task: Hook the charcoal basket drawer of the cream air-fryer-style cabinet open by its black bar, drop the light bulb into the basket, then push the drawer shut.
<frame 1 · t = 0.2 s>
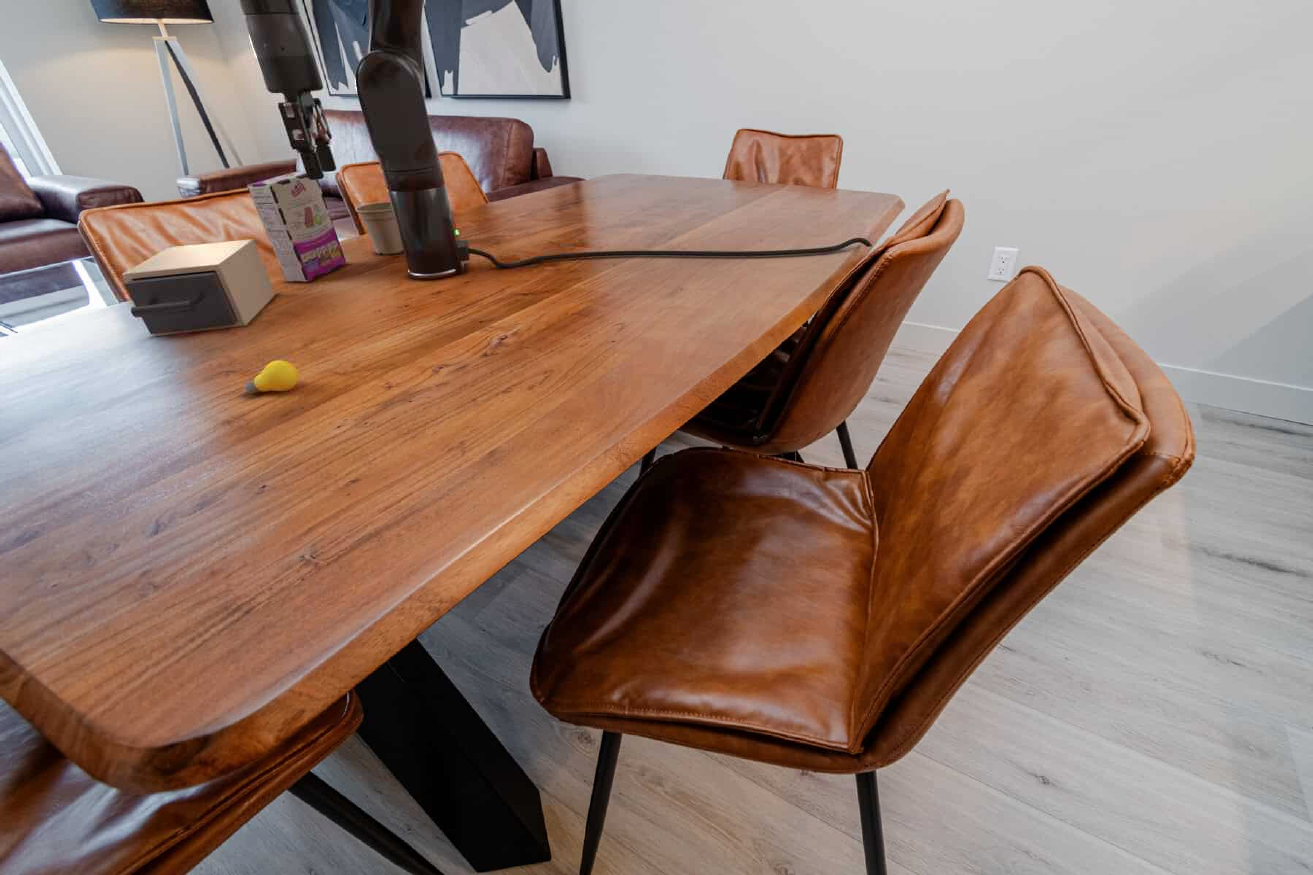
hand: (323, 175, 95), 17 cm above the table, tool pointing down, fingers open, 8 cm apart
cabinet: (219, 313, 93), on the table
candy bar box: (317, 274, 110), on the table
drawer: (193, 295, 87), point 5 cm above the table, slide at 0.5 cm
light bulb: (275, 391, 70), on the table
flower pot: (393, 251, 121), on the table
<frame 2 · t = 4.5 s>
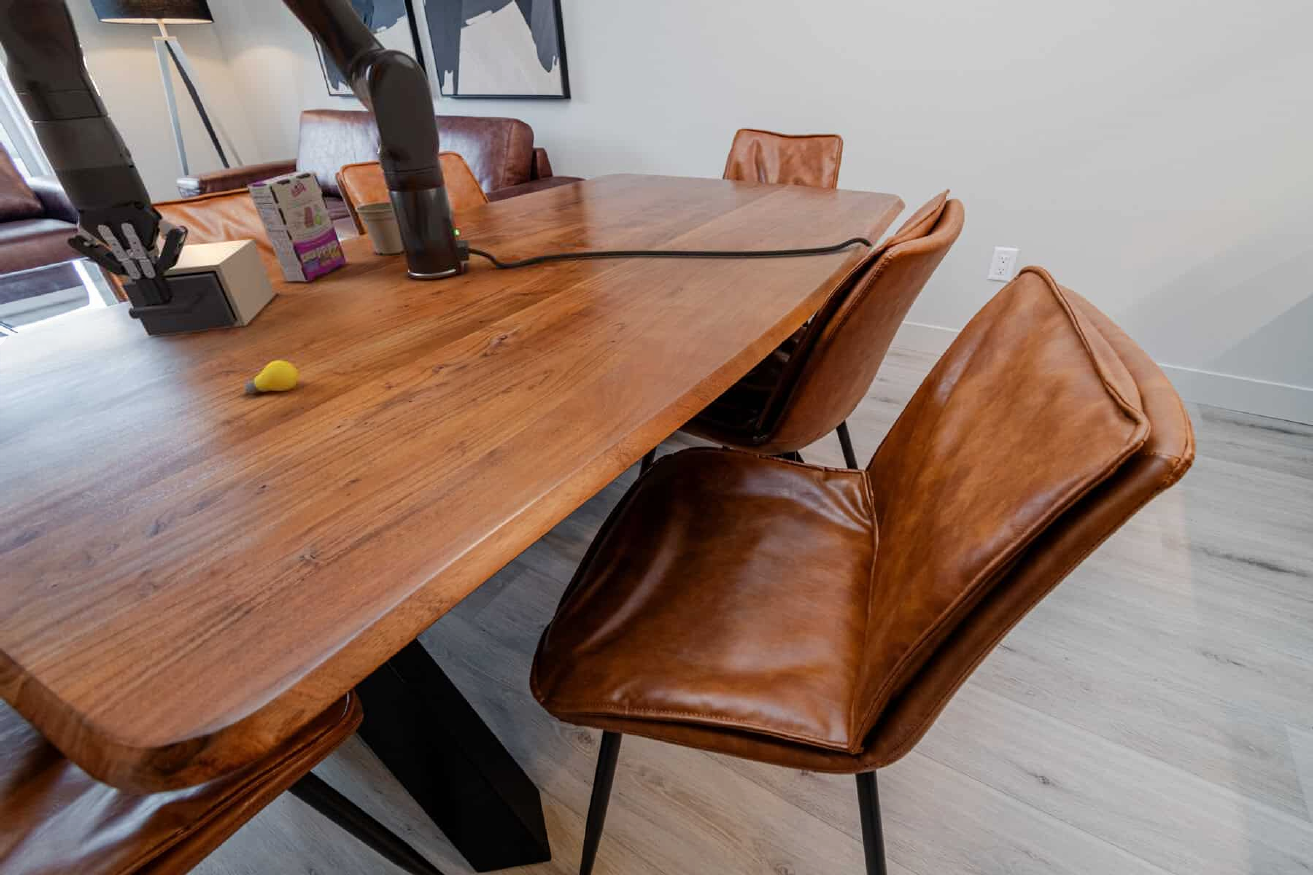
hand: (162, 303, 80), 6 cm above the table, tool pointing down, fingers closed
drawer: (192, 296, 86), point 5 cm above the table, slide at 1.1 cm, touching gripper
everything else where it was.
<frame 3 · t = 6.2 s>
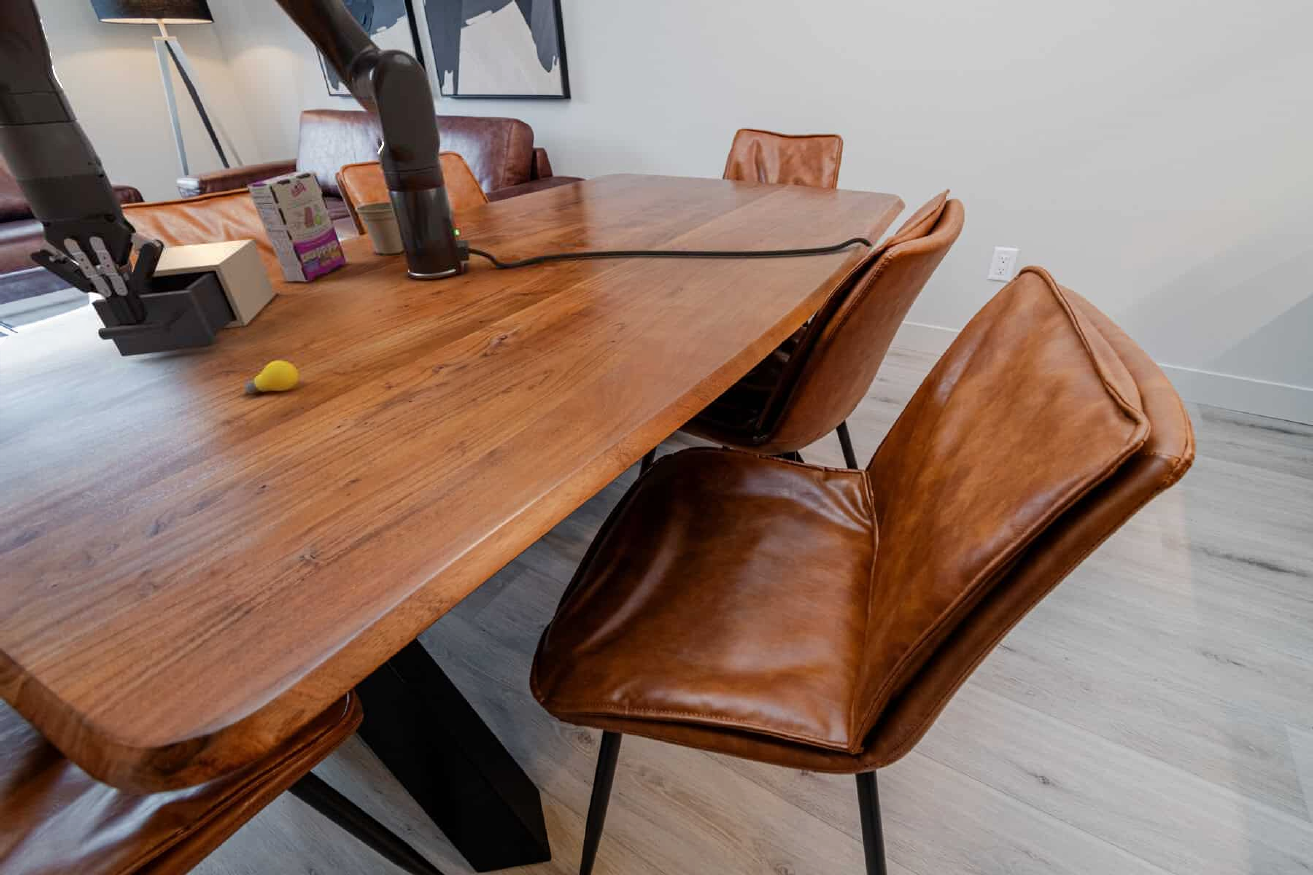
hand: (136, 323, 74), 6 cm above the table, tool pointing down, fingers closed
drawer: (169, 313, 80), point 5 cm above the table, slide at 8.3 cm, touching gripper
everything else where it was.
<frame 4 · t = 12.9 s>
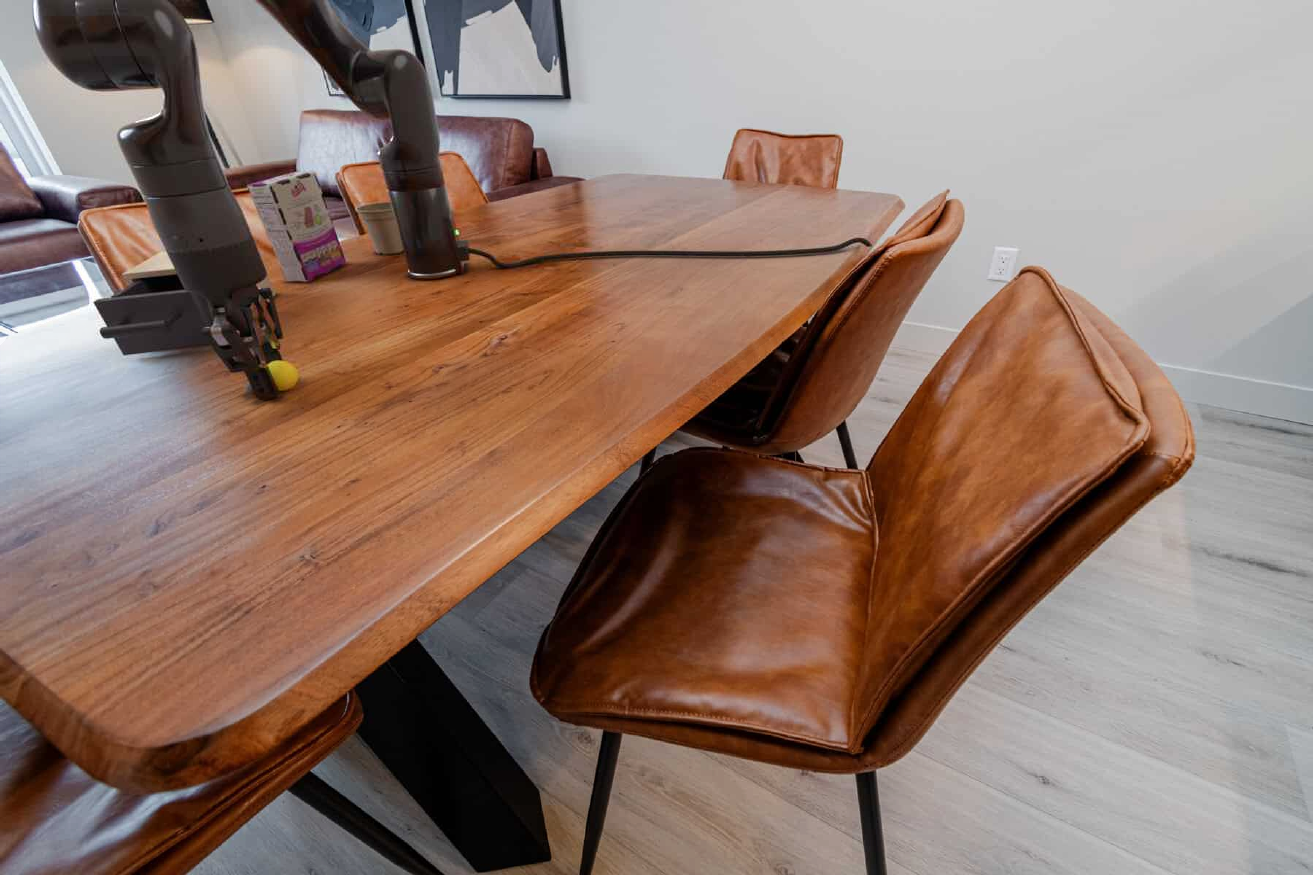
hand: (274, 388, 69), 0 cm above the table, tool pointing down, fingers closed on light bulb, 3 cm apart
drawer: (170, 312, 81), point 5 cm above the table, slide at 7.9 cm
light bulb: (275, 392, 70), on the table, touching gripper
everything else where it was.
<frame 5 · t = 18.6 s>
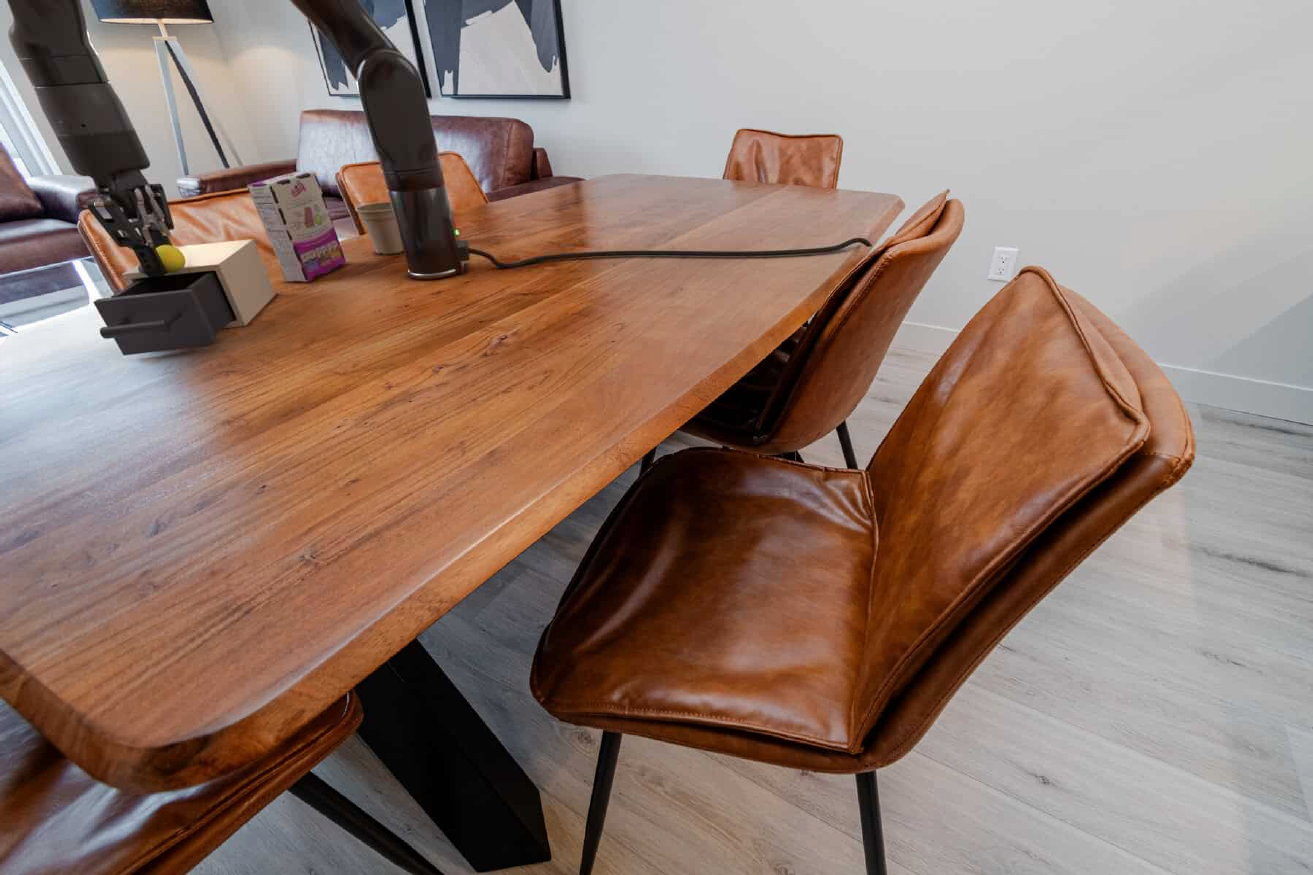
hand: (165, 270, 81), 9 cm above the table, tool pointing down, fingers closed on light bulb, 3 cm apart
light bulb: (165, 273, 81), point 9 cm above the table, touching gripper
everything else where it was.
when the fingers open (10 cm above the table, at t = 22.2 s): light bulb drops 6 cm, resting on drawer.
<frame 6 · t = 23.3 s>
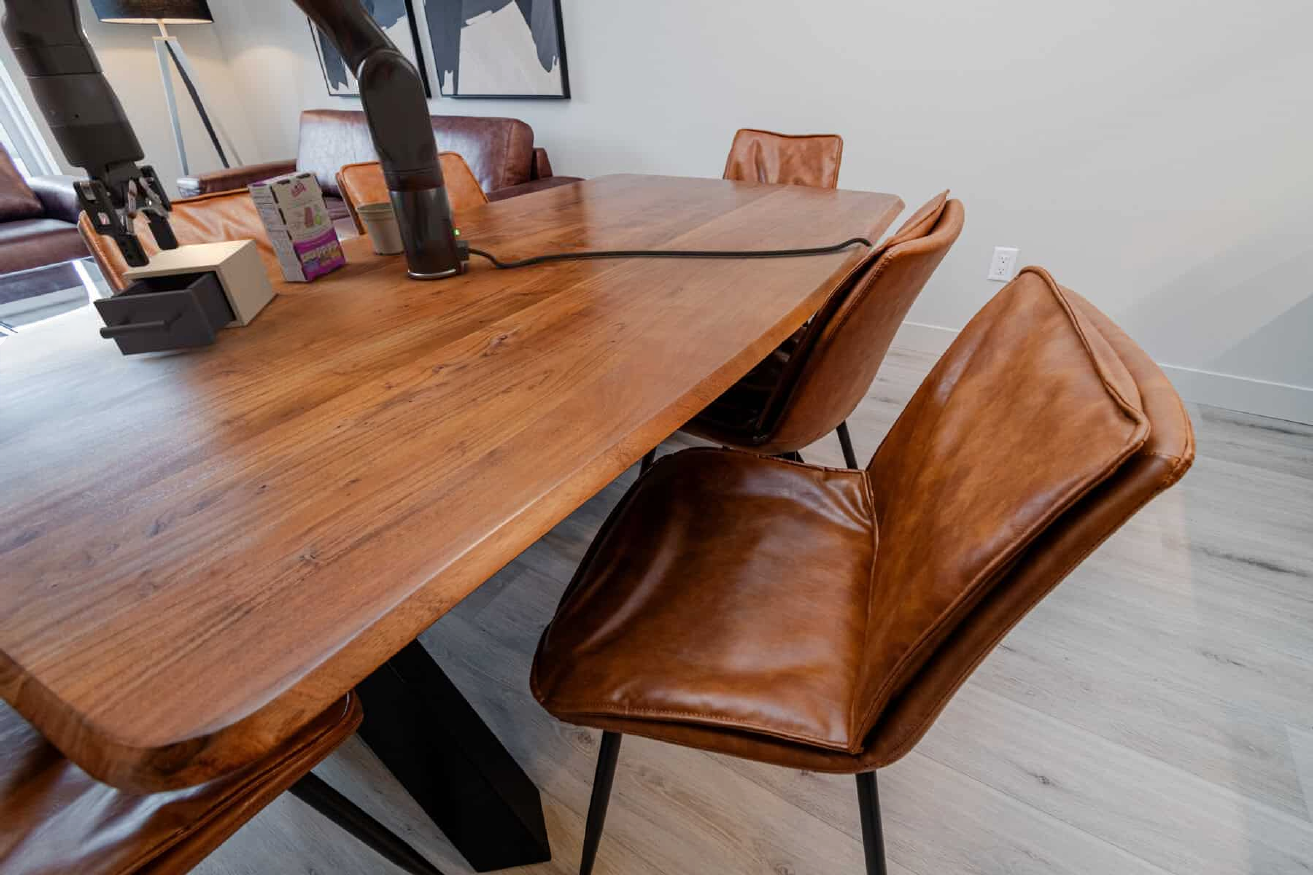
hand: (156, 257, 79), 11 cm above the table, tool pointing down, fingers open, 8 cm apart
drawer: (170, 312, 81), point 5 cm above the table, slide at 8.0 cm, touching light bulb
light bulb: (187, 311, 84), point 3 cm above the table, touching drawer
everything else where it was.
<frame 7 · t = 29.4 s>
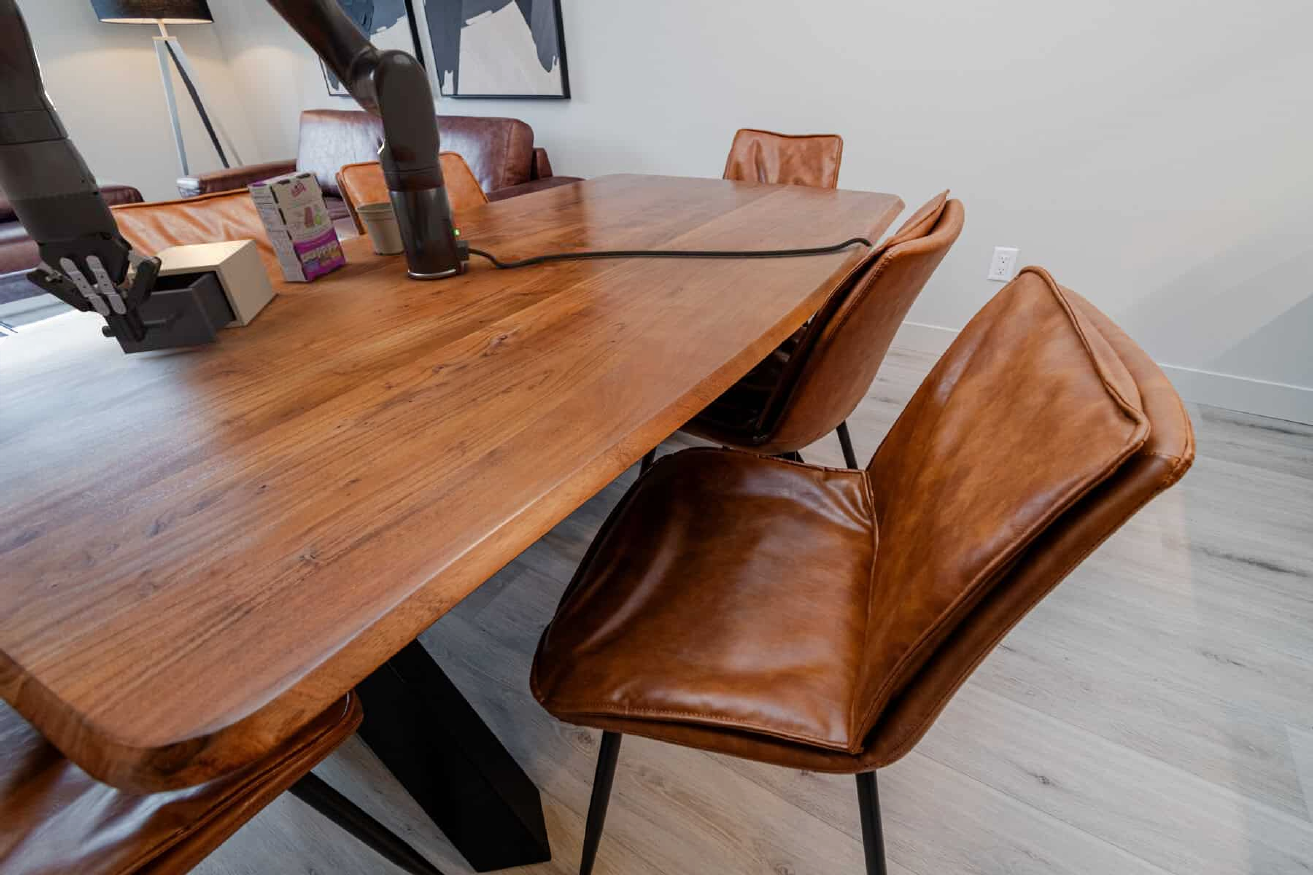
hand: (135, 341, 72), 4 cm above the table, tool pointing down, fingers closed
drawer: (172, 311, 81), point 5 cm above the table, slide at 7.5 cm, touching gripper, light bulb
everything else where it was.
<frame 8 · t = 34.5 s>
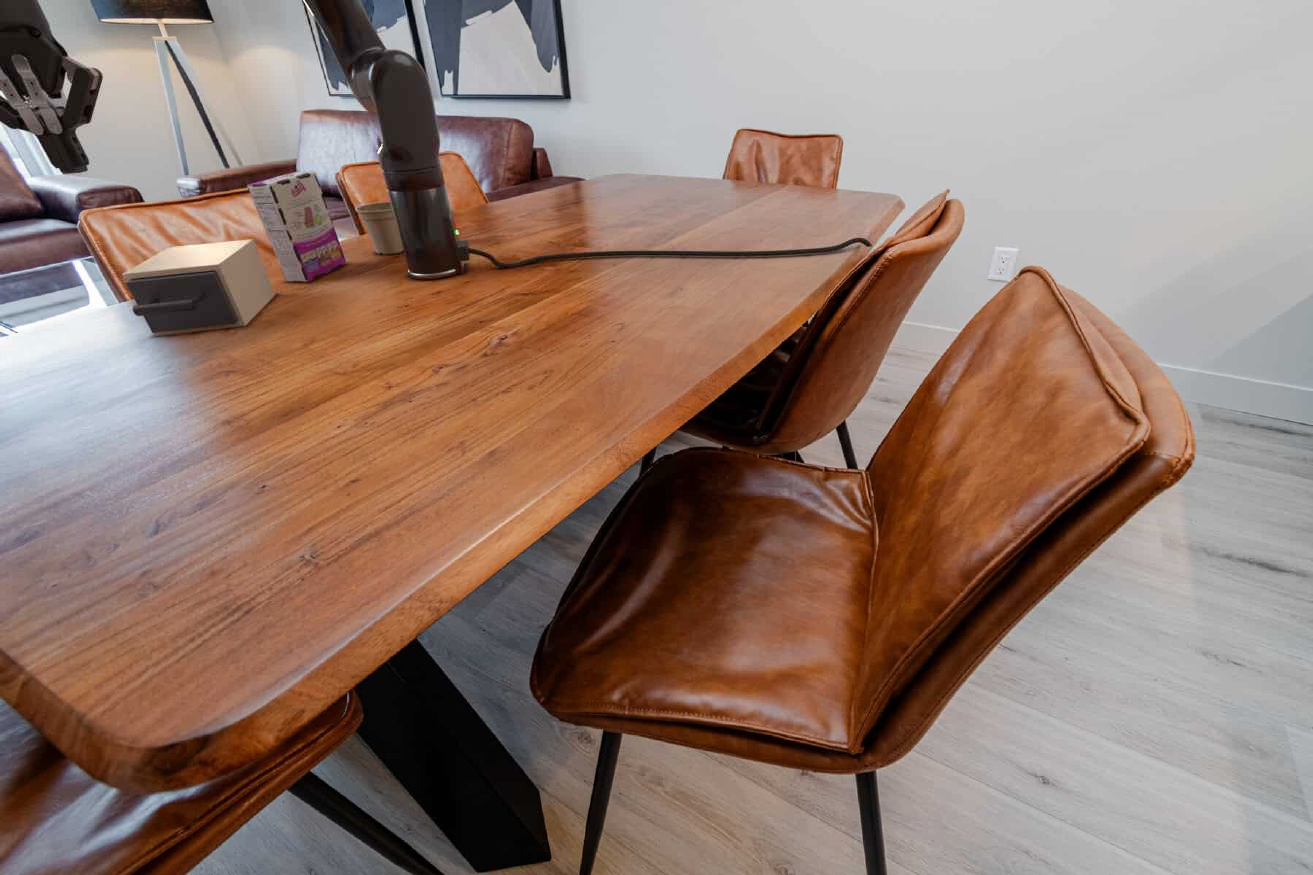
hand: (76, 172, 64), 23 cm above the table, tool pointing down, fingers closed
drawer: (195, 294, 87), point 5 cm above the table, slide at 0.0 cm, touching light bulb
light bulb: (206, 292, 90), point 4 cm above the table, touching drawer
everything else where it was.
at the end: drawer pulled out 8.3 cm at the most during the clip, back to where it started at the end; light bulb inside the target area in the cabinet (1.0 cm from its centre), point 3.7 cm above the cabinet's base; drawer slide at 0.0 cm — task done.
